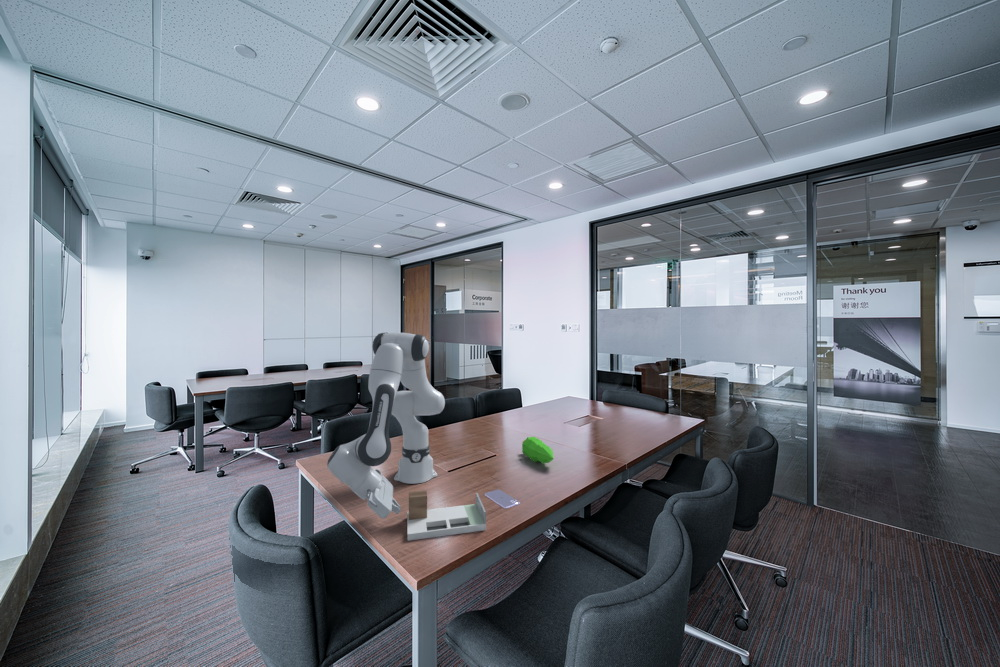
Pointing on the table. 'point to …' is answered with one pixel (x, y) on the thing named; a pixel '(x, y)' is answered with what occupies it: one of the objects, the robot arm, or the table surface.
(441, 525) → the track
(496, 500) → the mobile phone
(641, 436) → the table surface
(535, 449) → the green faceted blob
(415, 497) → the walnut block
